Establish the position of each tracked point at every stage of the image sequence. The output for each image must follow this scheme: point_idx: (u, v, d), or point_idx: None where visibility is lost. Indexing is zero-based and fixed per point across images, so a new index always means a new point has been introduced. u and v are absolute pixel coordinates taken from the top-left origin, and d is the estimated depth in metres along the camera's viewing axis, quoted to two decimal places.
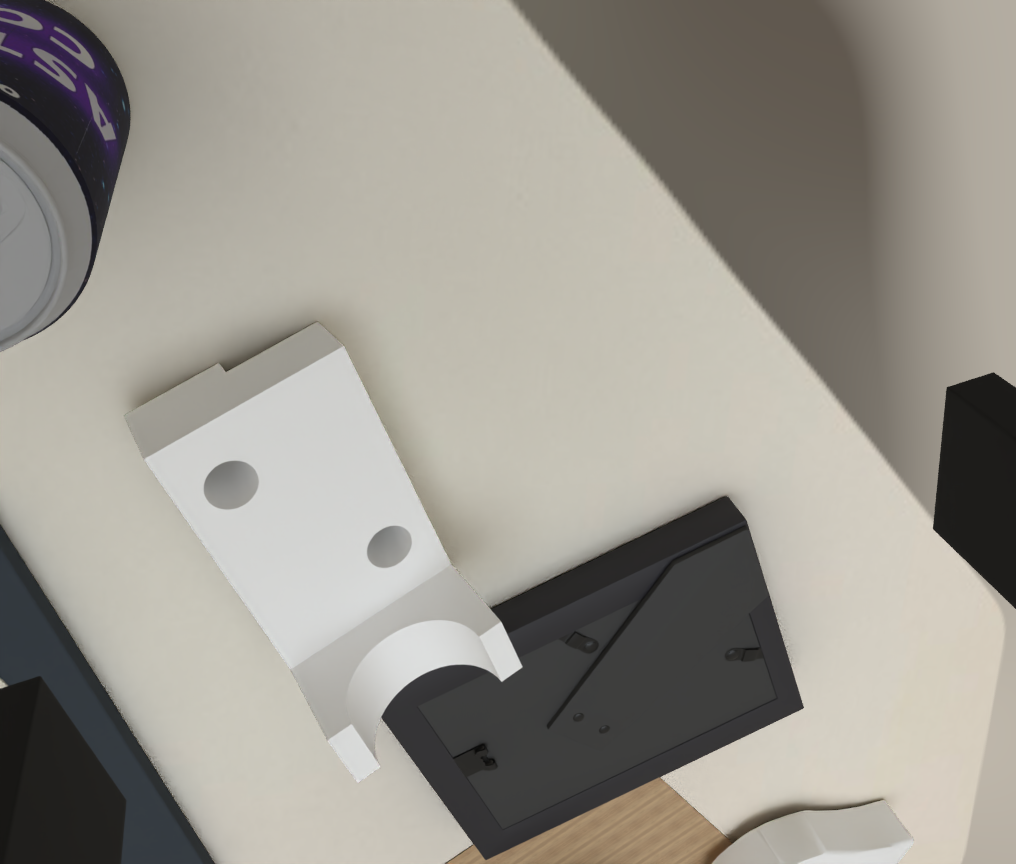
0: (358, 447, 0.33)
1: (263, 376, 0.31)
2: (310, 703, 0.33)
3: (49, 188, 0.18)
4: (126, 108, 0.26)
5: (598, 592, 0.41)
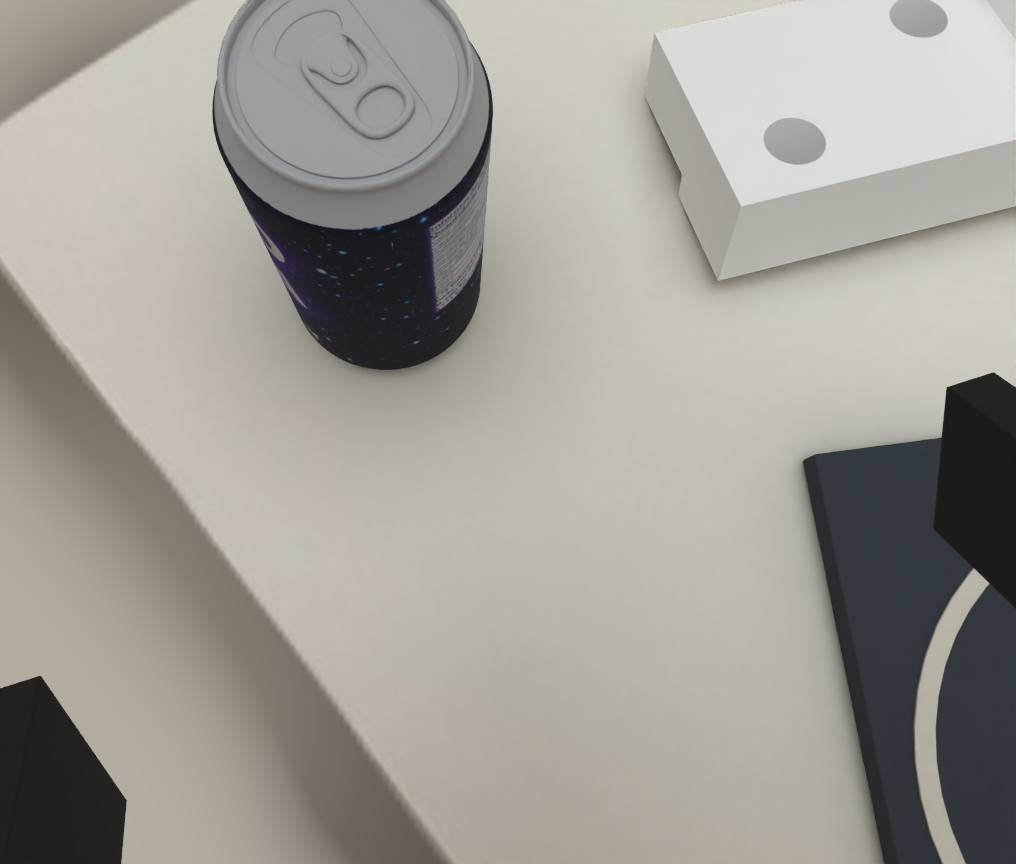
0: (777, 31, 0.29)
1: (680, 116, 0.29)
2: None
3: None
4: None
5: None
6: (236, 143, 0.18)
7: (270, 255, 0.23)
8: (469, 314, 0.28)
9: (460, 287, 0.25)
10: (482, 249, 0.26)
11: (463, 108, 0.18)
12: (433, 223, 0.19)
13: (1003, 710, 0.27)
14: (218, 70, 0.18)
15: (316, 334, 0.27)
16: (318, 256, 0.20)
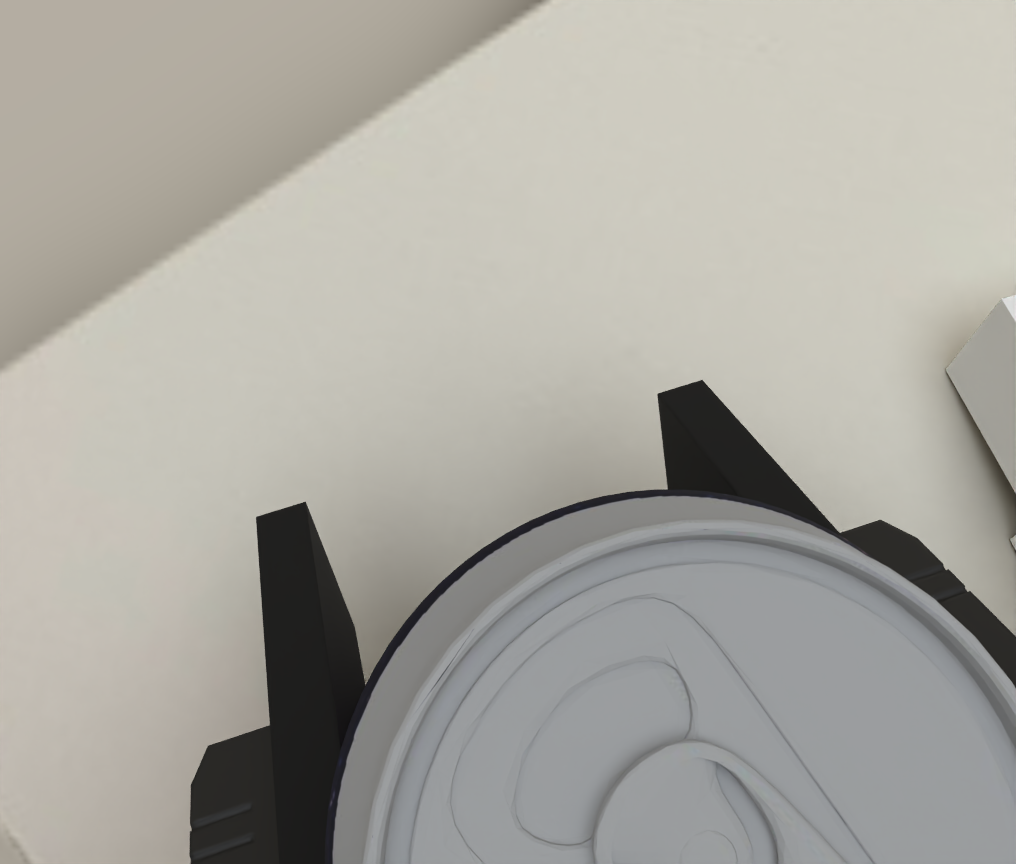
0: None
1: None
2: None
3: None
4: None
5: None
6: None
7: None
8: None
9: None
10: None
11: None
12: None
13: None
14: None
15: None
16: None
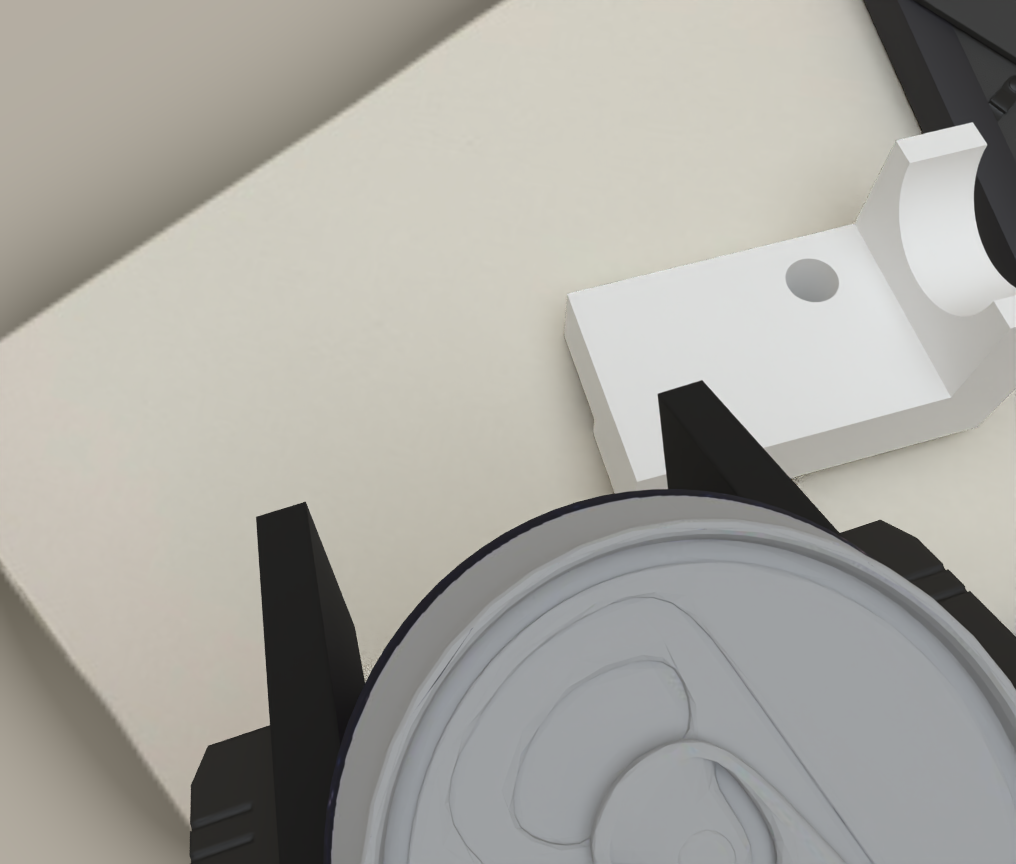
0: (681, 294, 0.32)
1: (589, 374, 0.31)
2: (978, 361, 0.28)
3: None
4: None
5: (934, 74, 0.35)
6: None
7: None
8: None
9: None
10: None
11: None
12: None
13: None
14: None
15: None
16: None
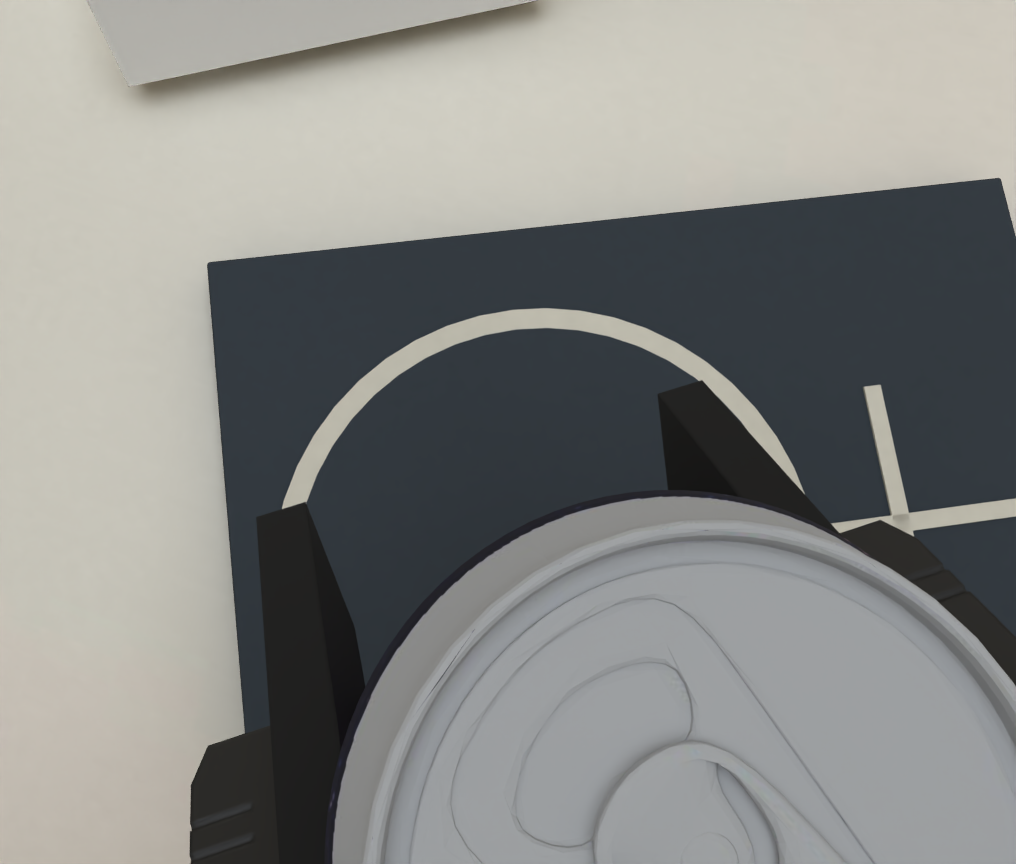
0: None
1: None
2: None
3: None
4: None
5: None
6: None
7: None
8: None
9: None
10: None
11: None
12: None
13: (377, 521, 0.26)
14: None
15: None
16: None
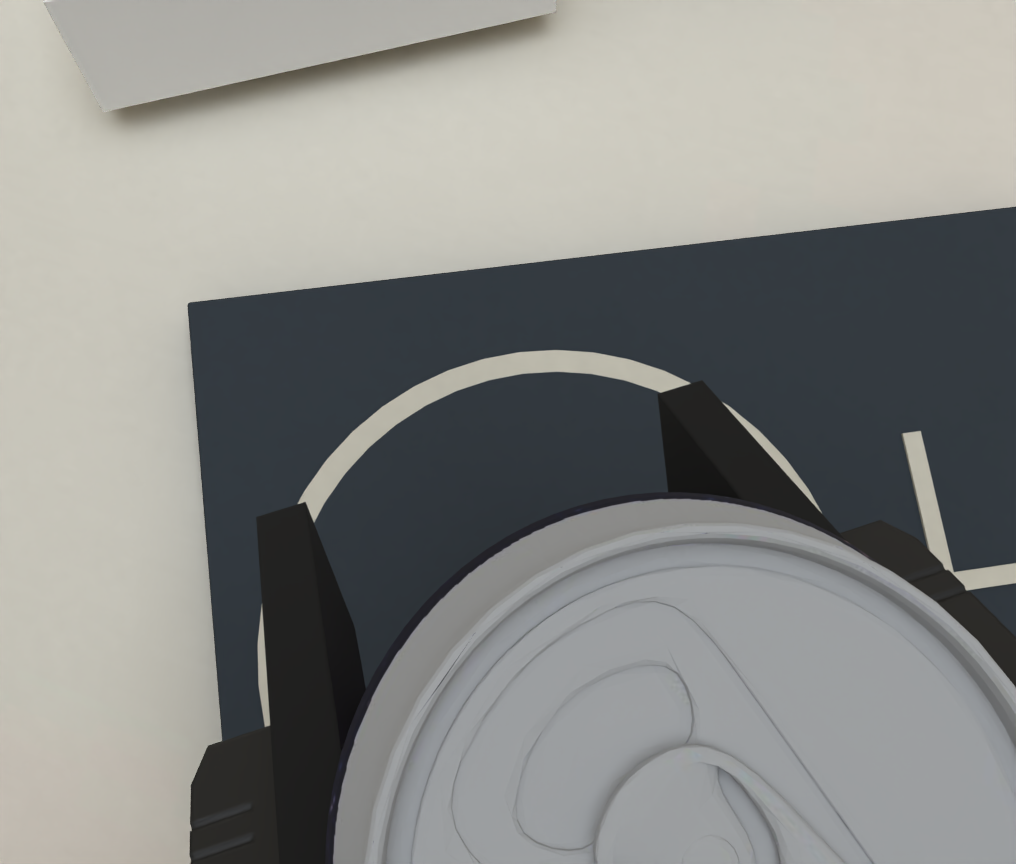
0: None
1: None
2: None
3: None
4: None
5: None
6: None
7: None
8: None
9: None
10: None
11: None
12: None
13: (373, 586, 0.24)
14: None
15: None
16: None
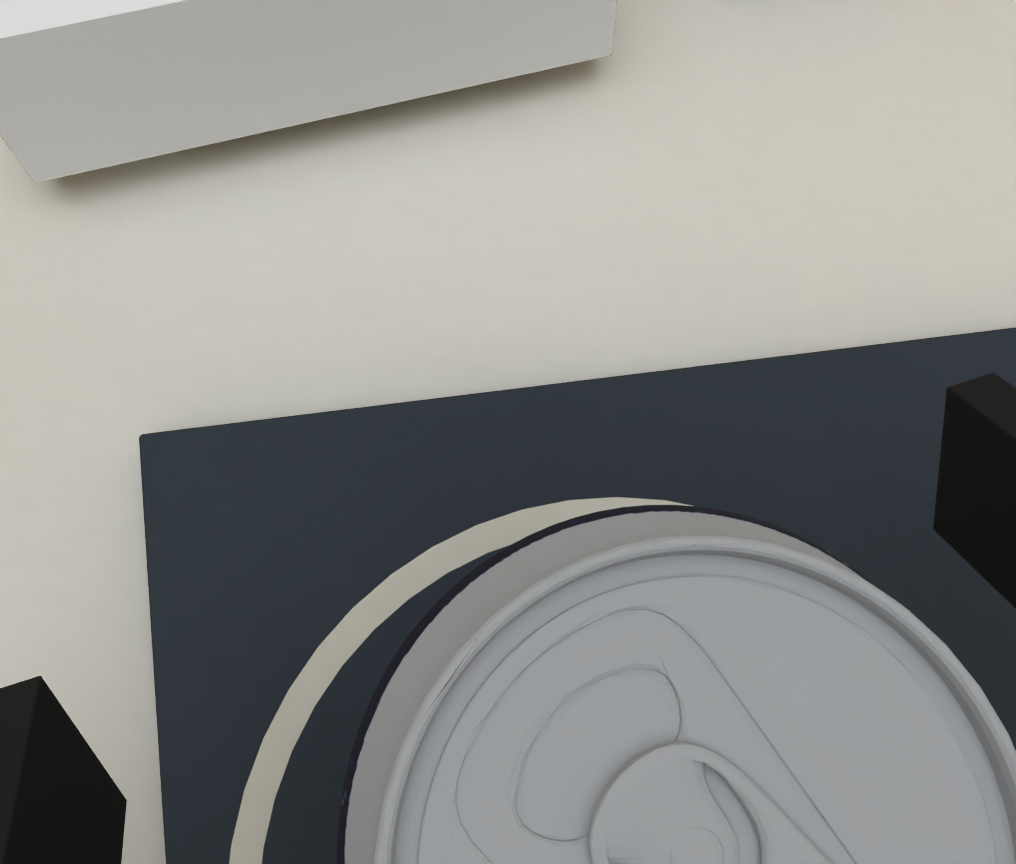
0: None
1: None
2: None
3: None
4: None
5: None
6: None
7: None
8: None
9: None
10: None
11: None
12: None
13: None
14: None
15: None
16: None
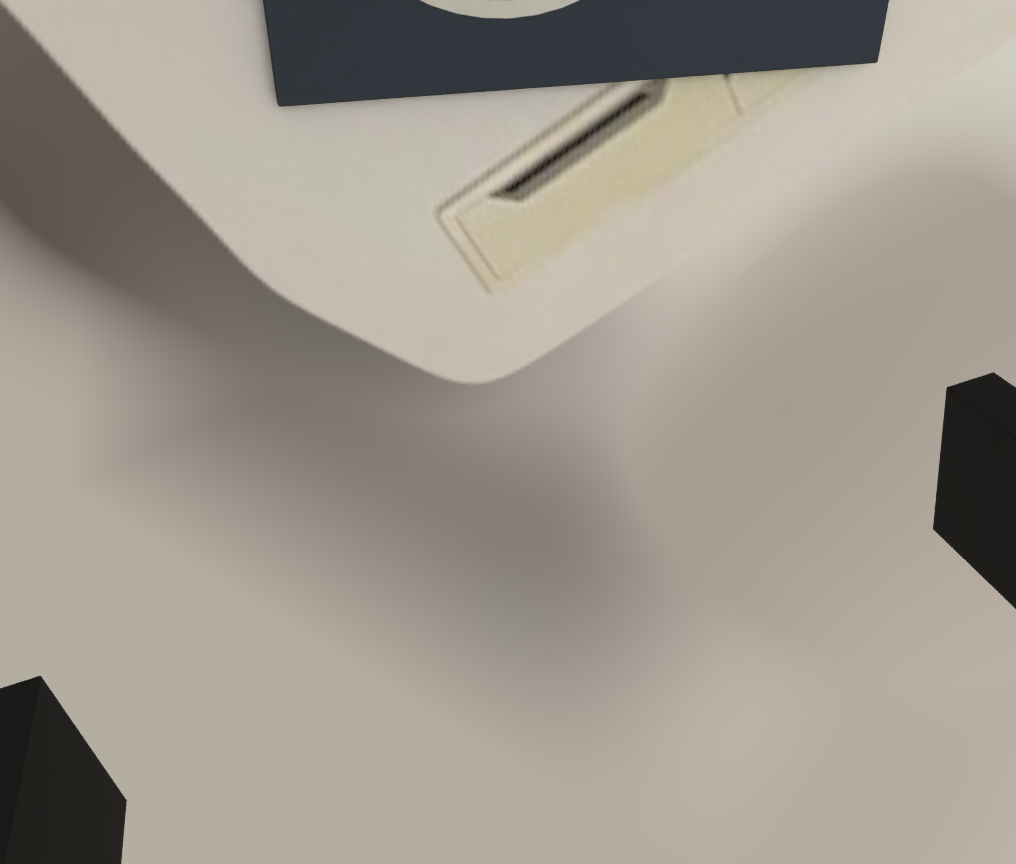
0: None
1: None
2: None
3: None
4: None
5: None
6: None
7: None
8: None
9: None
10: None
11: None
12: None
13: None
14: None
15: None
16: None
